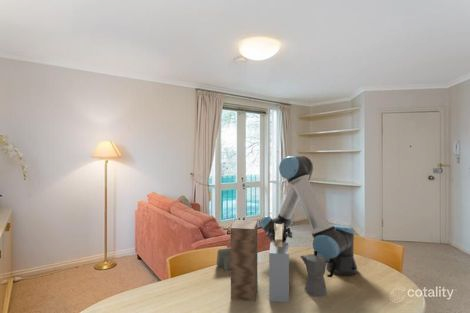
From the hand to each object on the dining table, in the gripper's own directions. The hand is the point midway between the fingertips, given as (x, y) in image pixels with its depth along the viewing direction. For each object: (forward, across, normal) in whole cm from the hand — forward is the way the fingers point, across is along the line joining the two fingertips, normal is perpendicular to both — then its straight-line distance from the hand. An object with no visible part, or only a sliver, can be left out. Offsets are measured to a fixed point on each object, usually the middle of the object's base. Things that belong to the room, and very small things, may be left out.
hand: (278, 226), depth 127 cm
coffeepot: (-11, -17, -26) cm, 33 cm away
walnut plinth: (-6, +15, -28) cm, 32 cm away
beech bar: (+1, 0, -6) cm, 6 cm away
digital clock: (-30, +25, -15) cm, 42 cm away
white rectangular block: (-7, 0, -28) cm, 29 cm away
